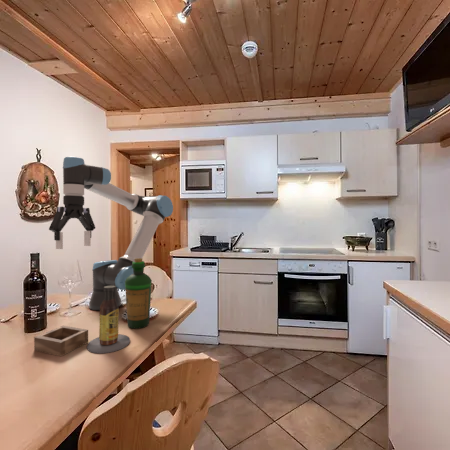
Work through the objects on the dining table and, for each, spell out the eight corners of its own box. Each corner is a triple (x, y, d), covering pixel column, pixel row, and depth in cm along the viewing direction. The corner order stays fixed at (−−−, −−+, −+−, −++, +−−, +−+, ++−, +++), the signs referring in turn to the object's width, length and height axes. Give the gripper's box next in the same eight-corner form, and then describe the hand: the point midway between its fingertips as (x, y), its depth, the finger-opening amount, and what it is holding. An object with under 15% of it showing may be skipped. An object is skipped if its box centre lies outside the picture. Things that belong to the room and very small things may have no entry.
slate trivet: (107, 333, 107) (107, 331, 107) (137, 338, 102) (137, 337, 102) (77, 349, 94) (77, 347, 94) (110, 356, 89) (110, 354, 89)
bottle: (119, 328, 112) (119, 259, 111) (135, 319, 122) (135, 256, 121) (142, 331, 109) (142, 261, 108) (156, 322, 119) (156, 257, 118)
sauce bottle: (111, 347, 94) (111, 289, 94) (95, 345, 95) (95, 288, 95) (122, 339, 101) (122, 285, 100) (106, 337, 102) (106, 284, 101)
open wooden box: (63, 337, 103) (63, 325, 103) (88, 342, 99) (88, 329, 99) (34, 350, 93) (34, 337, 93) (60, 356, 89) (60, 342, 89)
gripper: (90, 198, 126) (90, 244, 126) (37, 192, 102) (38, 250, 103) (103, 197, 123) (104, 245, 124) (52, 192, 100) (52, 250, 100)
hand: (74, 247), depth 113 cm, fingers open, 13 cm apart
